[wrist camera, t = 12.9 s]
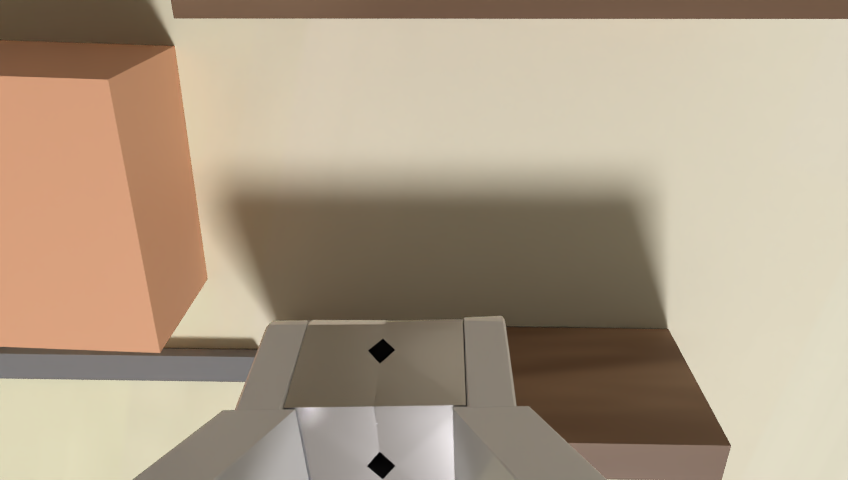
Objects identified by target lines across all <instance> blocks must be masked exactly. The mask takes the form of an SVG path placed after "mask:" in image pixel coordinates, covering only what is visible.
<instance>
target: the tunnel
mask: <svg viewBox="0 0 848 480" xmlns="http://www.w3.org/2000/svg"><path fill="white" fill-rule="evenodd" d="M171 4H172V10H173V16H174V18H475V19H848V0H171ZM506 331H507V339H508V346H509V353H510V361H511V368H512V376H513V383H514V391H515V398H516V406H529V407H530V408H531V409H532V410H534V411H535V412H536V413H537V414H538V415H539V416H540V417H541V418H542V419H543V420H544V421H545V422H546V423H547V424H548V425H549V426H550V427H552V428H553V429H554V430H555V431H556V432H557V433H558V434H559V435H560V436H561V437H562V438H563V439H564V440H565V441H566V442H567V443H569V444H570V445H571V446H572V447H573V448H574V449H575V450H576V451H577V452H578V453H579V454H580V455H581V456H582V457H583V458H584V459H585V460H587V461H588V462H589V463H590V464H591V465H592V466H593V467H594V468H595V469H596V470H597V471H598V472H599V473H600V474H601V475H602V476H604V477H605V478H606V479H617V480H722V476H723V473H724V469H725V466H726V462H727V458H728V455H729V451H730V447H731V445H730V443H729V441H728V439H727V437H726V436H725V434H724V432H723V430H722V428H721V426H720V424H719V422H718V421H717V419H716V417H715V415H714V413H713V411H712V409H711V408H710V406H709V404H708V402H707V400H706V398H705V396H704V395H703V393H702V391H701V389H700V387H699V385H698V383H697V382H696V380H695V378H694V376H693V374H692V372H691V370H690V369H689V367H688V365H687V363H686V361H685V359H684V357H683V355H682V354H681V352H680V350H679V348H678V346H677V344H676V342H675V341H674V339H673V337H672V335H671V333H670V331H669V329H629V328H547V327H506Z"/></svg>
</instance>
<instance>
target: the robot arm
mask: <svg viewBox="0 0 848 480" xmlns="http://www.w3.org/2000/svg"><path fill="white" fill-rule="evenodd" d="M133 480H607V479H606V478H605V477H604V476H602V475H601V474H600V473H599V472H598V471H597V470H596V469H595V468H594V467H593V466H592V465H591V464H590V463H589V462H588V461H587V460H585V459H584V458H583V457H582V456H581V455H580V454H579V453H578V452H577V451H576V450H575V449H574V448H573V447H572V446H571V445H570V444H569V443H567V442H566V441H565V440H564V439H563V438H562V437H561V436H560V435H559V434H558V433H557V432H556V431H555V430H554V429H553V428H552V427H550V426H549V425H548V424H547V423H546V422H545V421H544V420H543V419H542V418H541V417H540V416H539V415H538V414H537V413H536V412H535V411H534V410H532V409H531V408H530V407H529V406H516V398H515V391H514V383H513V376H512V368H511V361H510V353H509V346H508V339H507V331H506V324H505V319H504V318H503V317H502V316H483V317H464V321H463V319H436V320H395V321H387V320H311V321H308V320H283V321H272V322H271V323H270V324H269V325H268V326H267V327H266V330H265V332H264V335H263V337H262V340H261V343H260V345H259V348H258V351H257V353H256V356H255V358H254V361H253V364H252V366H251V369H250V371H249V374H248V377H247V379H246V382H245V385H244V387H243V390H242V392H241V395H240V398H239V400H238V403H237V406H236V408H235V410H223V411H221V412H220V413H219V414H217V415H216V416H215V417H214V418H212V419H211V420H210V421H208V422H207V423H206V424H204V425H203V426H202V427H201V428H199V429H198V430H197V431H195V432H194V433H193V434H191V435H190V436H189V437H187V438H186V439H185V440H184V441H182V442H181V443H180V444H178V445H177V446H176V447H174V448H173V449H172V450H171V451H169V452H168V453H167V454H165V455H164V456H163V457H161V458H160V459H159V460H157V461H156V462H155V463H154V464H152V465H151V466H150V467H148V468H147V469H146V470H144V471H143V472H142V473H141V474H139V475H138V476H137V477H135V478H134V479H133Z"/></svg>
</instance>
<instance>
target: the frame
mask: <svg viewBox="0 0 848 480" xmlns="http://www.w3.org/2000/svg"><path fill="white" fill-rule="evenodd" d="M257 351H258V350H247V349H171V348H163V349H162V351H161V352H160V353H147V352H122V351H96V350H71V349H45V348H20V347H0V378H12V379H81V380H150V381H220V382H246V379H247V377H248V374H249V371H250V369H251V366H252V364H253V361H254V358H255V356H256V353H257Z"/></svg>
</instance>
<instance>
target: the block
mask: <svg viewBox="0 0 848 480" xmlns="http://www.w3.org/2000/svg"><path fill="white" fill-rule="evenodd" d="M206 281H207V272H206V265H205V258H204V251H203V243H202V236H201V229H200V222H199V215H198V208H197V201H196V194H195V187H194V180H193V173H192V165H191V158H190V151H189V144H188V137H187V130H186V123H185V116H184V109H183V102H182V94H181V87H180V80H179V73H178V66H177V59H176V52H175V46H162V45H132V44H101V43H71V42H41V41H10V40H0V347H20V348H45V349H71V350H96V351H122V352H147V353H160V352H161V351H162V349H163V348H164V346H165V345H166V343H167V341H168V340H169V338H170V337H171V335H172V334H173V332H174V331H175V329H176V327H177V326H178V324H179V323H180V321H181V320H182V318H183V317H184V315H185V313H186V312H187V310H188V309H189V307H190V306H191V304H192V302H193V301H194V299H195V298H196V296H197V295H198V293H199V292H200V290H201V288H202V287H203V285H204V284H205V282H206Z"/></svg>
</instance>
